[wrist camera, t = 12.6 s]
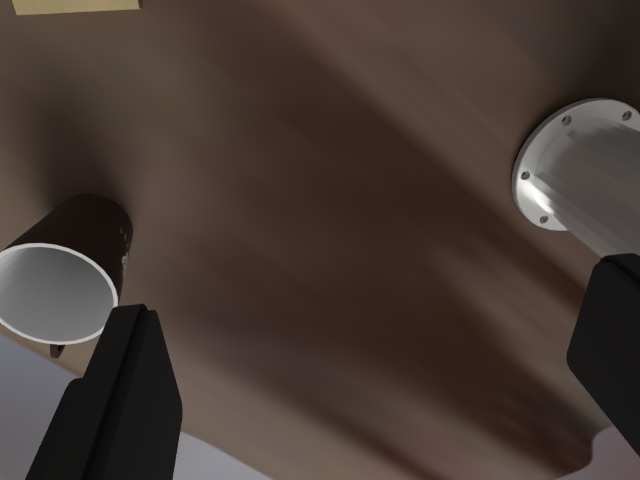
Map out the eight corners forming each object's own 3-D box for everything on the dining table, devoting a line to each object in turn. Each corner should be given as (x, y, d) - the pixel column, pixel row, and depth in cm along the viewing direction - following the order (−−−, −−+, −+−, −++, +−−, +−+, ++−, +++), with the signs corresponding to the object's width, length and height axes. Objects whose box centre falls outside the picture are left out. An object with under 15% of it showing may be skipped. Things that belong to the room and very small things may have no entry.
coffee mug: (74, 161, 37) (21, 218, 29) (165, 222, 41) (142, 289, 33) (3, 256, 41) (-64, 332, 32) (93, 305, 44) (55, 385, 36)
